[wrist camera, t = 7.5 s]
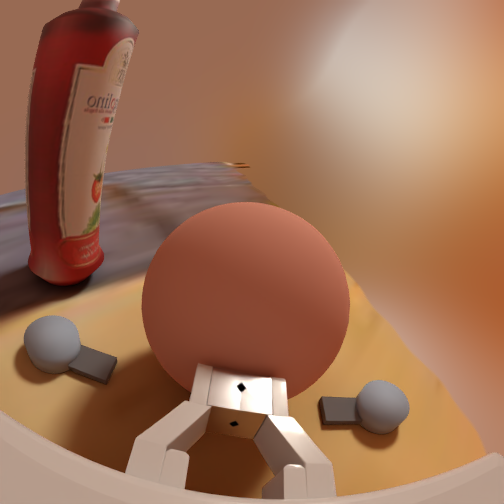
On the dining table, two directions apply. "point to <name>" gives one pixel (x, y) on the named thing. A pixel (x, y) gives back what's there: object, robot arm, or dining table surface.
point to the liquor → (72, 136)
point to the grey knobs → (102, 365)
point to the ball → (246, 296)
